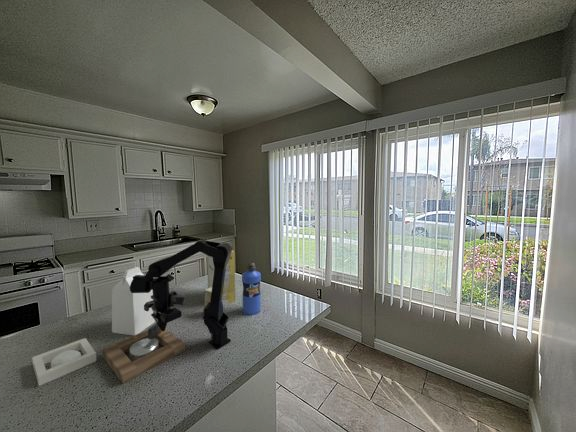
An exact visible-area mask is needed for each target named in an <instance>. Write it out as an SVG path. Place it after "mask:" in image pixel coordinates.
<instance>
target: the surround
mask: <svg viewBox="0 0 576 432" xmlns="http://www.w3.org/2000/svg"><path fill="white" fill-rule="evenodd" d="M146 338H148V329H147V330H146V329H145V331H144V330H143V331H141V332H140V333H138V334H137V335H134V336H133V335H131V336H130V337H128V338H125V339H122V340H120V341H118V342H115V343H113V344H111V345H108V346H106V347H103V348H102V349H101V350H102V351H101V352H102V358H103V359H104V360H105V362H106V363H107V364H108V366H109V367H110V368H111V370H112V371H113V373H114V374H115V375H116V376H117V378H118V379H119V380H120V382H121V384H123V385H124V384H125V383H127V382H130V381H131V380H133V379H135V378H137V377H138V376H141V375H142V374H144V373H146V372H148V371H150V370H151V369H153V368H155V367H157V366H159V365H162V364H163V363H165V362H166V361H168V360H170V359H172V358H174V357H176V356H177V355H180V354H182V353H183V352H185V351H186V344H185V342H184V341H183V340H182V339H180V338H179V337H177V336H176V335H175V334H174V333H173V332H170V331H169V329H167V328H165V331H163V332H161V333H160V334H158V335H157V336H156V337H155V338H156V339H157V340H158V345H160V346H162V347H159V349H158V350H156V351H154V352H152V353H150V354H147V355H145V356H143V357H141V358H139V359H137V360H135V361H132V360H131V359H130V357H128V355H126V353H128V352H130V347H131V346H132V345H133V344H134V343H136V342H138V341H140V340H142V339H146Z"/></svg>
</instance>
